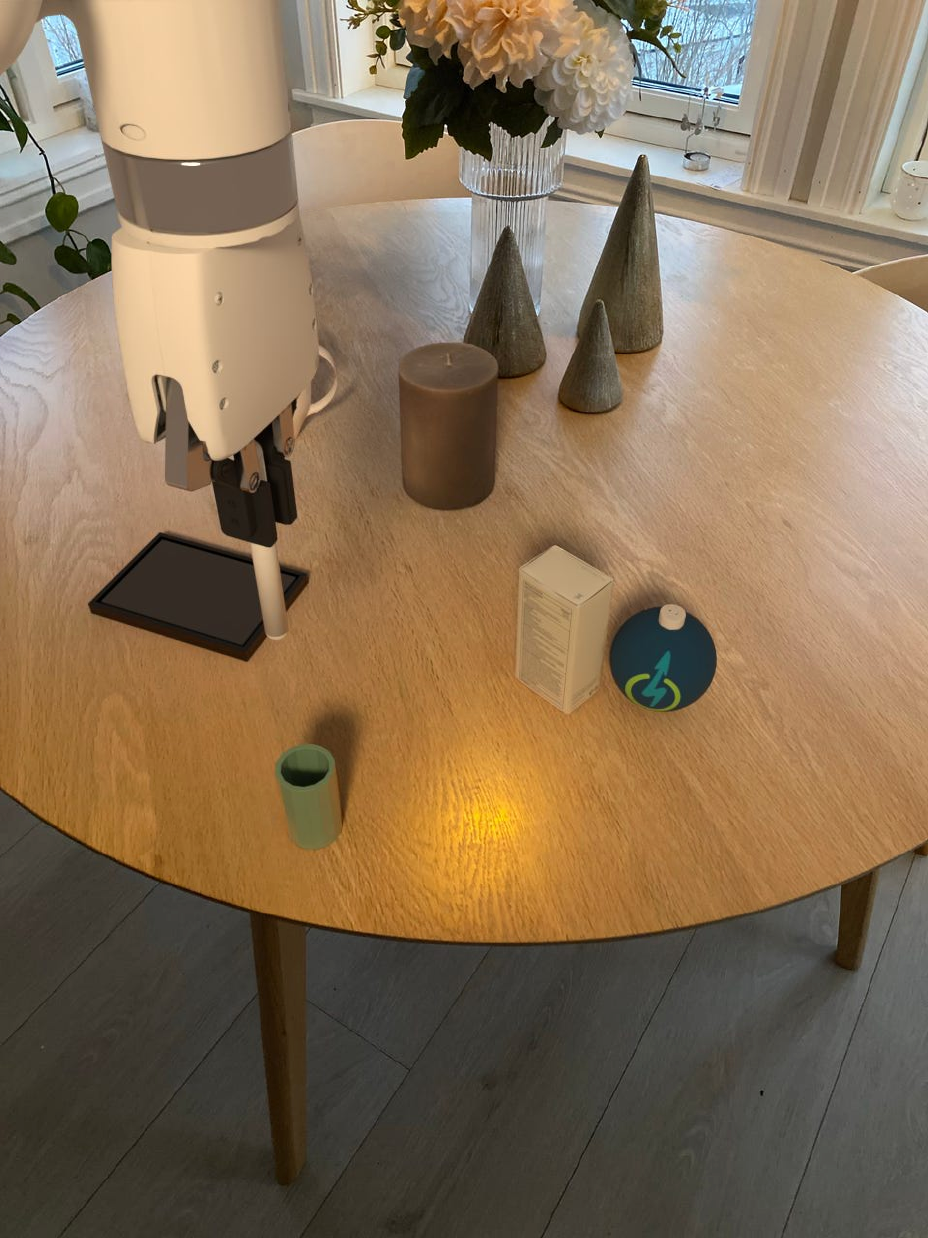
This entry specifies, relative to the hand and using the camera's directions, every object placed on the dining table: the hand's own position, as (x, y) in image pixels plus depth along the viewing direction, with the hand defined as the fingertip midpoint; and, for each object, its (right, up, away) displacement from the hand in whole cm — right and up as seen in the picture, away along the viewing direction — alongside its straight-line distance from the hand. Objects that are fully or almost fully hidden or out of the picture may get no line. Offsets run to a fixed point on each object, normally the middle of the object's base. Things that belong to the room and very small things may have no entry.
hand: (260, 525), depth 52 cm
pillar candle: (+9, +9, +48) cm, 50 cm away
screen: (-13, -3, +34) cm, 36 cm away
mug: (-8, +15, +55) cm, 57 cm away
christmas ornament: (+27, -12, +27) cm, 40 cm away
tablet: (-13, -3, +35) cm, 37 cm away
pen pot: (0, -20, +17) cm, 26 cm away
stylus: (0, -6, +6) cm, 9 cm away
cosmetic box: (+19, -11, +28) cm, 35 cm away
